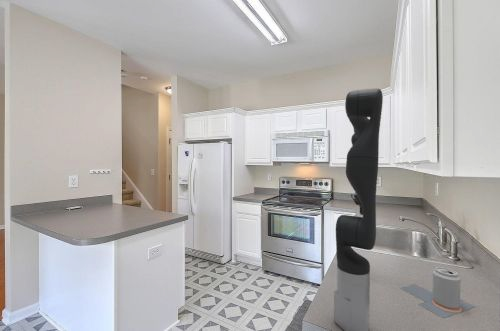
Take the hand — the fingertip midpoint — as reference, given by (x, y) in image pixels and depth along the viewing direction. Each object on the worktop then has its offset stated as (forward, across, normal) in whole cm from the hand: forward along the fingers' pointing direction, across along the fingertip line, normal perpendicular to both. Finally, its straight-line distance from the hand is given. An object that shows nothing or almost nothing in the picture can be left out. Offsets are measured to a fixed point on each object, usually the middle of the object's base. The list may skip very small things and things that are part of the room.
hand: (363, 214), depth 105 cm
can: (+27, +10, -28) cm, 40 cm away
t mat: (+27, +9, -23) cm, 37 cm away
